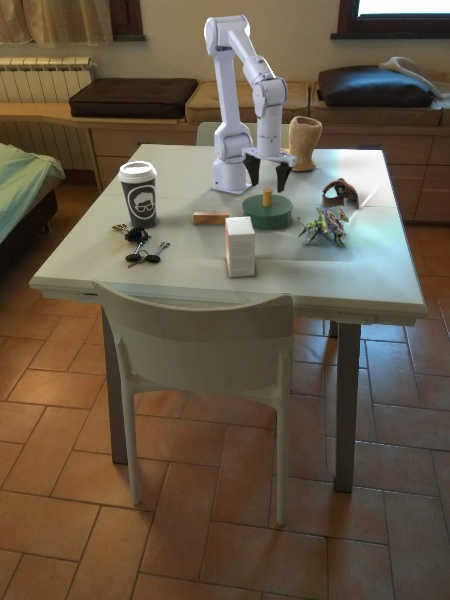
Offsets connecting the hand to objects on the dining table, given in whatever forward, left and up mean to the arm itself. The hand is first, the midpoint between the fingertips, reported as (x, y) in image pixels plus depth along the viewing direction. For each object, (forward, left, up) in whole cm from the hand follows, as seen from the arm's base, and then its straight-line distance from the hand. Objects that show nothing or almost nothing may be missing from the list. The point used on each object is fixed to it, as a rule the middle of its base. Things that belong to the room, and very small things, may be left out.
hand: (267, 188), depth 122 cm
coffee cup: (-27, -18, -8) cm, 33 cm away
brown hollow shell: (+15, +15, -8) cm, 22 cm away
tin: (+1, -2, -8) cm, 8 cm away
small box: (+6, -25, -8) cm, 27 cm away
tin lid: (+1, -2, -4) cm, 5 cm away
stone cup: (-8, +37, -8) cm, 38 cm away
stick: (-11, -10, -8) cm, 17 cm away
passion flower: (+18, -7, -8) cm, 21 cm away
